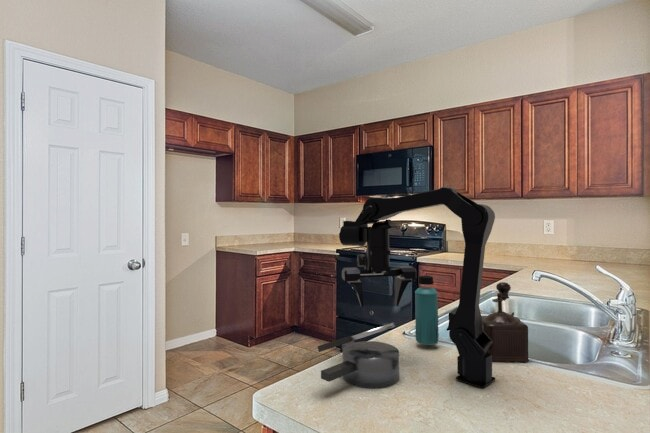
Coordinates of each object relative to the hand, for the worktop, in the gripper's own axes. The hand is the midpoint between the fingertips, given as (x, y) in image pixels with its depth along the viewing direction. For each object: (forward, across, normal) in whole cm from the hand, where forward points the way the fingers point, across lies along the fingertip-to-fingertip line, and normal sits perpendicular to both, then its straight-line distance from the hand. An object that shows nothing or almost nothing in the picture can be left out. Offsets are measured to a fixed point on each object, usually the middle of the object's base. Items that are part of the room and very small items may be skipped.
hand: (379, 306), depth 101 cm
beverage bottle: (+14, -15, -8) cm, 22 cm away
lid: (+4, +8, +12) cm, 16 cm away
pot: (+14, +8, +12) cm, 20 cm away
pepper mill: (+14, -33, -1) cm, 36 cm away
